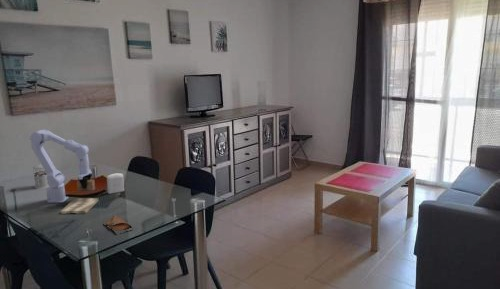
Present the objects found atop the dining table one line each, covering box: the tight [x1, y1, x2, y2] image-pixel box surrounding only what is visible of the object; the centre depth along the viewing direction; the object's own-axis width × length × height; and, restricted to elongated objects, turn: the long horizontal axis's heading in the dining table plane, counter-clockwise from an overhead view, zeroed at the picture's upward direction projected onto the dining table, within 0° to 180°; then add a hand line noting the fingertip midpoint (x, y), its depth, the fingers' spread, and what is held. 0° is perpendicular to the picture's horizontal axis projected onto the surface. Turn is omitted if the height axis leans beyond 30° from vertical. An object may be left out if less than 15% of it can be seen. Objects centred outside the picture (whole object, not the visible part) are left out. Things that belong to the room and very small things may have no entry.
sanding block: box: [76, 179, 96, 192], centre depth 230 cm, size 9×4×6 cm, turn 92°
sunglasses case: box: [104, 214, 133, 231], centre depth 196 cm, size 18×7×7 cm, turn 44°
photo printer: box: [106, 172, 125, 194], centre depth 244 cm, size 10×4×12 cm, turn 124°
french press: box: [32, 158, 50, 190], centre depth 253 cm, size 10×12×25 cm
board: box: [59, 197, 99, 215], centre depth 221 cm, size 14×19×2 cm
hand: (86, 187), depth 230 cm, fingers closed on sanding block, 4 cm apart
